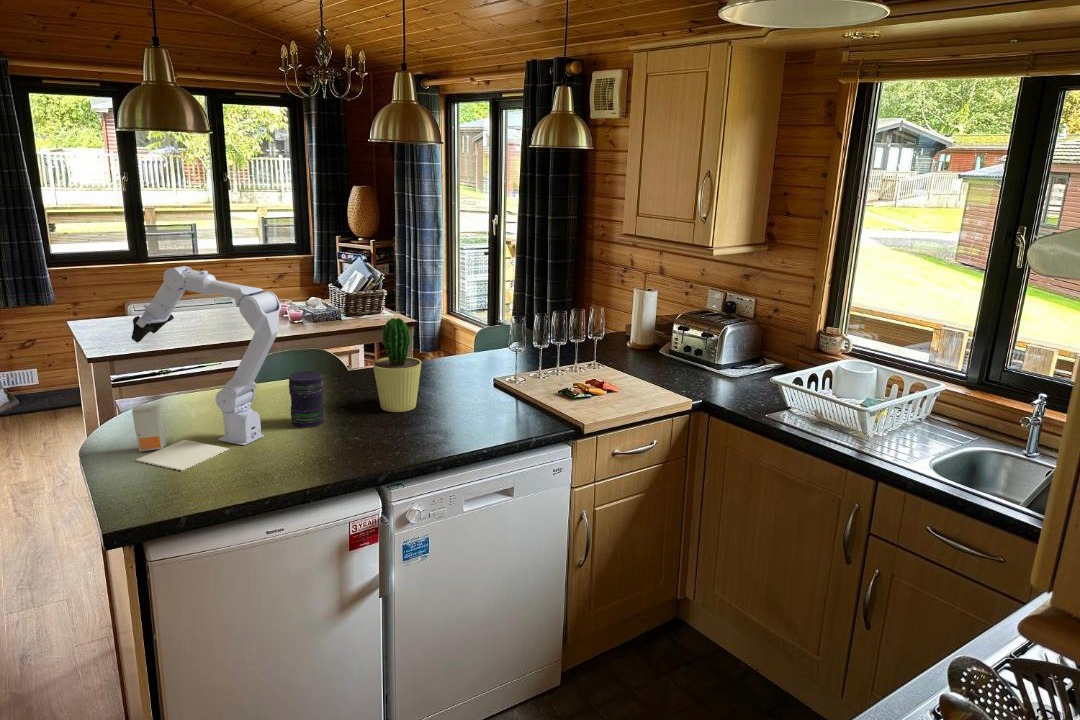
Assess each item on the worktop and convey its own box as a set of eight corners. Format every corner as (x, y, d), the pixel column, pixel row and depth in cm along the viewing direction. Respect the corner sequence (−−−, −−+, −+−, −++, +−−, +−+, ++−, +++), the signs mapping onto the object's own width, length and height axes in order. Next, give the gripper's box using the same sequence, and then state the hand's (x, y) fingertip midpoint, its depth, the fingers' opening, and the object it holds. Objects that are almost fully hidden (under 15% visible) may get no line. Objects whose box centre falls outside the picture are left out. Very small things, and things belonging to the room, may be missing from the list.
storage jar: (315, 429, 221) (312, 381, 217) (285, 426, 223) (281, 378, 219) (331, 418, 230) (328, 372, 227) (301, 416, 232) (298, 369, 228)
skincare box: (138, 452, 201) (130, 409, 198) (142, 447, 205) (134, 405, 202) (163, 449, 202) (155, 406, 200) (166, 444, 206) (159, 402, 204)
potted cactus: (427, 400, 250) (425, 312, 242) (415, 415, 235) (413, 321, 228) (382, 398, 252) (379, 310, 244) (367, 412, 237) (364, 319, 229)
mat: (229, 450, 204) (228, 448, 204) (182, 471, 190) (181, 469, 190) (184, 441, 210) (184, 439, 210) (135, 461, 195) (135, 459, 195)
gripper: (167, 285, 214) (146, 318, 219) (136, 299, 201) (115, 335, 205) (188, 300, 215) (167, 333, 220) (158, 316, 202) (136, 351, 207)
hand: (143, 335), depth 213 cm, fingers open, 7 cm apart
